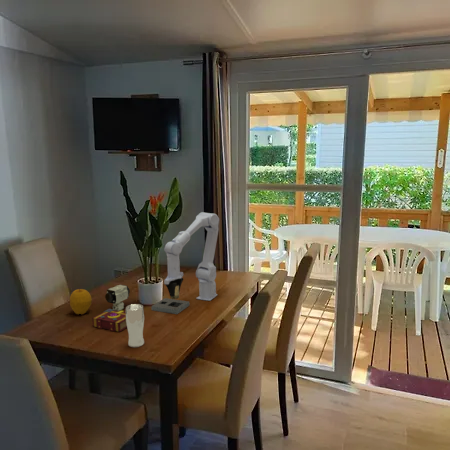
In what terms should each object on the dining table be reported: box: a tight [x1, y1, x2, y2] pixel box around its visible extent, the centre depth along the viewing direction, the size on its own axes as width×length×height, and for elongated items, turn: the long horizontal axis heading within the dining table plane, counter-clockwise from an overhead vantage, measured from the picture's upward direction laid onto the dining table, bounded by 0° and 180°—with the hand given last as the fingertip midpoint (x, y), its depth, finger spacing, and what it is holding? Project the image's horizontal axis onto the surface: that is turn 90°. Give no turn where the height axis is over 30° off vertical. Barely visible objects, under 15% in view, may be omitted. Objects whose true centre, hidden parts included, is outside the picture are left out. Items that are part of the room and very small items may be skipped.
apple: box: [69, 288, 93, 315], centre depth 186 cm, size 10×10×12 cm
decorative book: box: [91, 308, 127, 333], centre depth 173 cm, size 11×16×5 cm
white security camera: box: [104, 284, 131, 311], centre depth 190 cm, size 6×12×12 cm, turn 149°
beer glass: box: [125, 303, 145, 348], centre depth 154 cm, size 7×7×15 cm
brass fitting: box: [170, 284, 180, 300], centre depth 190 cm, size 4×4×6 cm
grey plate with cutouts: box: [151, 297, 190, 315], centre depth 192 cm, size 12×14×2 cm
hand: (174, 294), depth 190 cm, fingers closed on brass fitting, 4 cm apart
